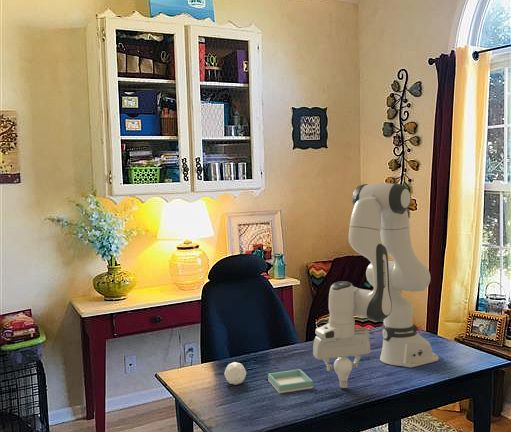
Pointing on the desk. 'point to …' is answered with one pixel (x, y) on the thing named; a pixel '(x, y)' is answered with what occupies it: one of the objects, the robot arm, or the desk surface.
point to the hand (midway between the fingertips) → (342, 368)
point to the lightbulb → (343, 370)
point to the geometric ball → (235, 373)
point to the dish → (290, 381)
